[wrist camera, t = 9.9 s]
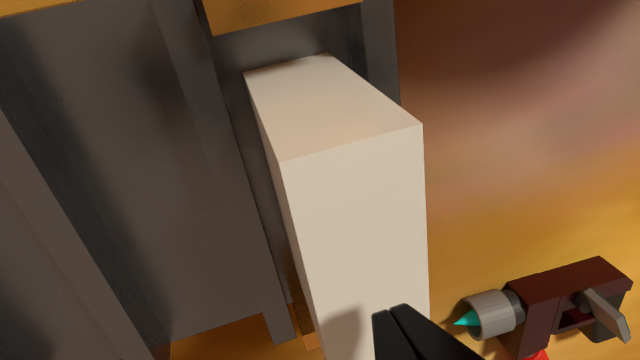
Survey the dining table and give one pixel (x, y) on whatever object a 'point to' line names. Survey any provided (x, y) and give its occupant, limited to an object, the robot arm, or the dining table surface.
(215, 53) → the rack
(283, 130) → the block
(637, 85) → the dining table surface
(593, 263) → the toy gun
